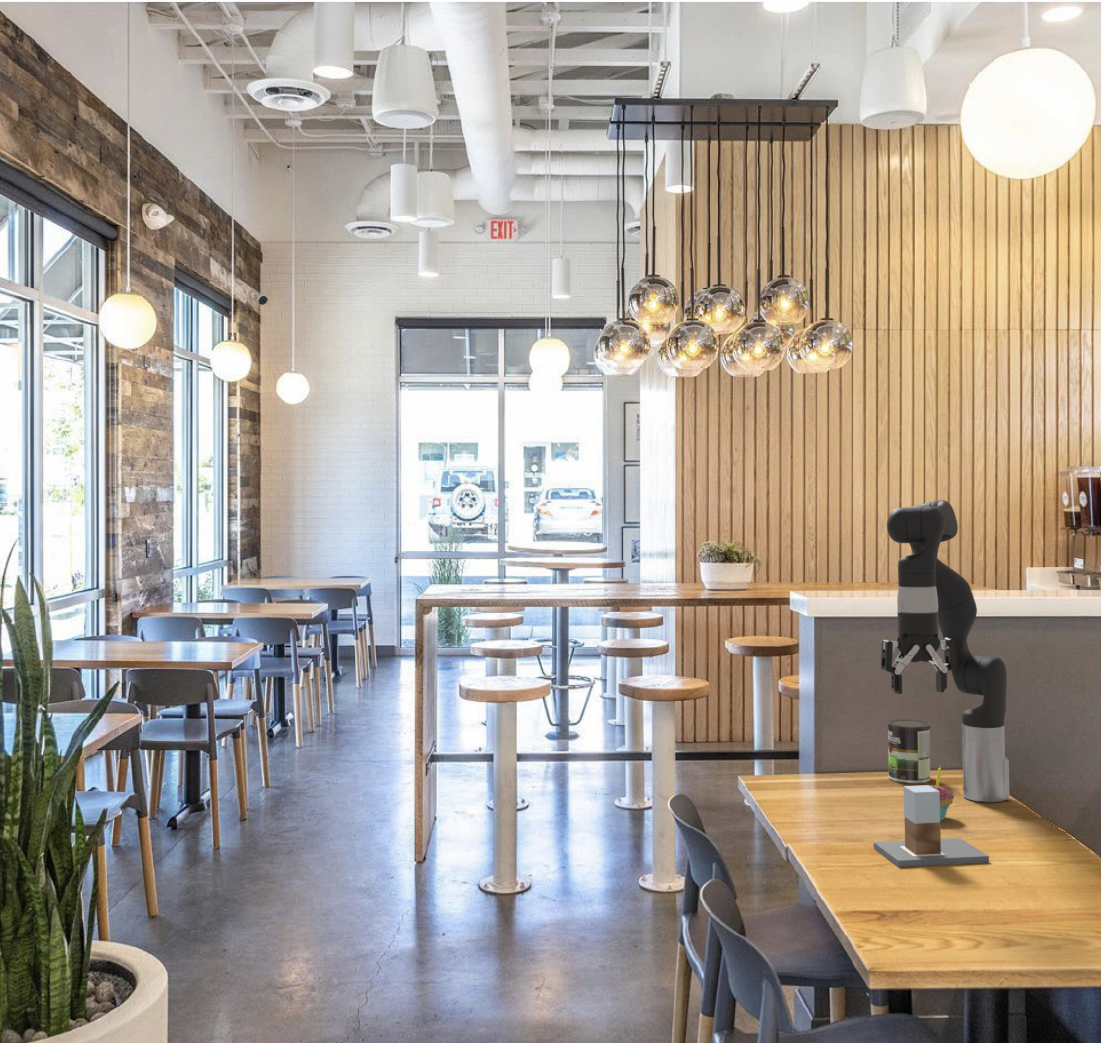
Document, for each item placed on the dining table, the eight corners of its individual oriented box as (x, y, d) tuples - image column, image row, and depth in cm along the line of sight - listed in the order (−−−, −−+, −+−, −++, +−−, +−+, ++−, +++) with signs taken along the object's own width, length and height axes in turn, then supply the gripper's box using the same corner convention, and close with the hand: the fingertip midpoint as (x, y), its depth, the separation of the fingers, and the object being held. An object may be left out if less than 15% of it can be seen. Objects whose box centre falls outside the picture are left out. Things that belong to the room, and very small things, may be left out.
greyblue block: (928, 815, 216) (928, 785, 216) (940, 822, 211) (939, 791, 211) (904, 816, 215) (903, 786, 215) (915, 823, 210) (914, 792, 210)
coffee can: (898, 784, 270) (897, 727, 270) (881, 774, 280) (880, 720, 280) (938, 782, 271) (937, 725, 271) (920, 773, 281) (919, 718, 281)
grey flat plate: (959, 843, 221) (959, 837, 221) (989, 862, 209) (988, 855, 209) (873, 848, 219) (873, 841, 219) (898, 867, 207) (898, 860, 207)
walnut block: (929, 846, 215) (929, 815, 215) (940, 853, 211) (940, 822, 211) (905, 847, 215) (904, 816, 215) (915, 854, 210) (915, 823, 210)
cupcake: (959, 817, 240) (958, 762, 240) (943, 825, 234) (942, 769, 234) (922, 810, 246) (921, 757, 246) (905, 818, 240) (904, 764, 240)
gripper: (944, 607, 217) (945, 688, 217) (874, 609, 216) (876, 691, 216) (961, 610, 210) (963, 694, 210) (890, 612, 208) (891, 697, 208)
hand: (919, 692), depth 213 cm, fingers open, 8 cm apart
